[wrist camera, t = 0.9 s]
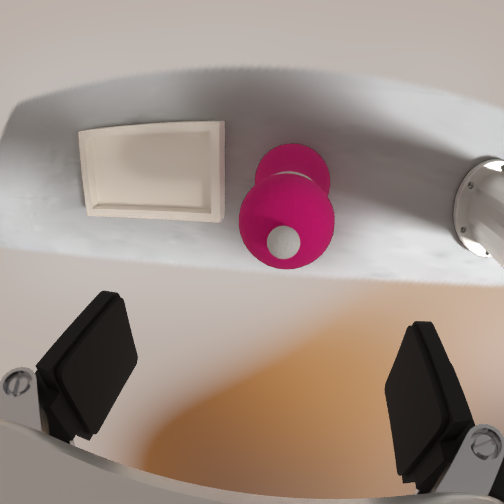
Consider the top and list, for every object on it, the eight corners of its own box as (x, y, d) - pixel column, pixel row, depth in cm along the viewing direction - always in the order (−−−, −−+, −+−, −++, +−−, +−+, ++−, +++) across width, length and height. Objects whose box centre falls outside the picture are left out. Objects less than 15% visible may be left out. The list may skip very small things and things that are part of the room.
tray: (225, 120, 33) (219, 121, 31) (225, 215, 38) (220, 222, 35) (89, 129, 35) (78, 131, 33) (97, 209, 40) (87, 215, 38)
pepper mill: (247, 164, 35) (186, 231, 17) (301, 126, 32) (300, 150, 14) (286, 215, 37) (266, 326, 19) (339, 181, 34) (377, 267, 16)
